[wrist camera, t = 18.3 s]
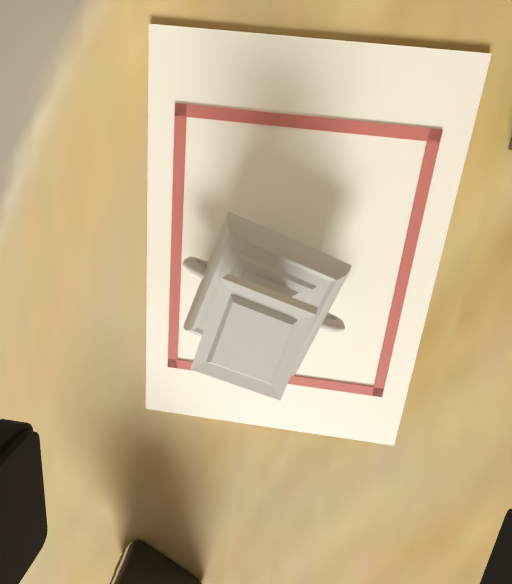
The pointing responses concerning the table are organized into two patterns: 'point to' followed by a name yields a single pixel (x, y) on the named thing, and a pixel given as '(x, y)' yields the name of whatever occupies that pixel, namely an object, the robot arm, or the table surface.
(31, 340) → the table surface
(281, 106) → the paper sheet
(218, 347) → the stamp
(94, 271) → the table surface
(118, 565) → the battery charger
